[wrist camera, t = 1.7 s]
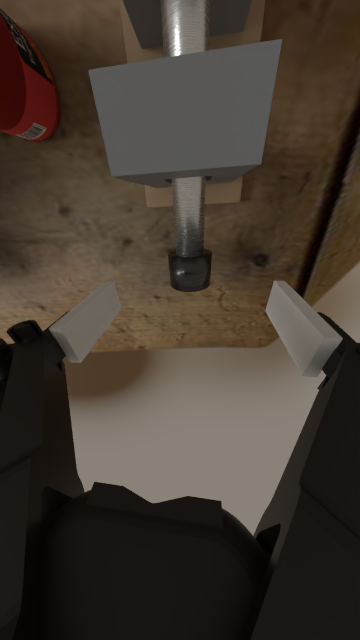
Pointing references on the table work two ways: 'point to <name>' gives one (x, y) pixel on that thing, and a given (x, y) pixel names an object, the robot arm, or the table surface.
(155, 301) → the table surface
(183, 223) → the shaft
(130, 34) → the bearing frame
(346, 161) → the table surface
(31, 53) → the canned food
